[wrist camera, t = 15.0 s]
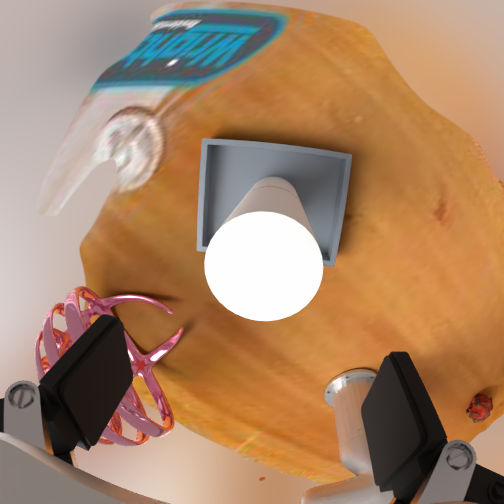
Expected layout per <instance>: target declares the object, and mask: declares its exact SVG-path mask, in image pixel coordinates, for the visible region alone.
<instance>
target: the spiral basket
mask: <svg viewBox="0 0 504 504" xmlns="http://www.w3.org/2000/svg"><path fill="white" fill-rule="evenodd" d="M79 296H80V297H82V298H83V299H84V300H86V301H87V302H88V304H89V306H88V308H87V309H85V310H84V311H80V305H79ZM127 302H145V303H150V304H153V305H156V306H158V307H160V308H162V309H163V310H165V311H166V312H168V313H170V314H173V311H172V309H170V308H169V307H168V306H167V305H165V304H163V303H162V302H160V301H158V300H155V299H153V298H150V297H147V296H142V295H135V294H125V295H117V296H113V297H108V298H101V297H99V296H98V295H97V294H95V293H94V292H93V291H92V290H91V289H89V288H87V287H84V286H80V287H77V288H74V289H73V290H71V291H70V292H69V293H68V294H67V296H66V298H65V303H57V304H55V305H53V306H52V307H51V308H50V310H49V311H48V312H47V314H46V316H45V319H44V323H43V329H42V330H41V331H40V333H39V334H38V336H37V339H36V343H35V363H36V368H37V372H38V379H39V381H40V380H41V379H42V378H43V376H44V375H45V371H46V370H49V369H51V367H52V366H53V365H54V364H55V363H56V362H57V361H58V360H59V359H60V358H61V357H62V355H63V354H64V353H65V352H66V351H67V350H68V349H69V348H70V347H71V346H72V345H73V344H74V343H75V342H76V341H77V339H78V338H79V337H80V336H81V335H82V334H83V333H84V332H85V331H86V330H87V329H88V328H89V327H90V326H91V322H90V321H91V319H92V318H93V317H94V316H101V315H102V314H108V315H112V316H114V314H113V313H112V311H111V308H112V307H113V306H115V305H118V304H122V303H127ZM53 314H59V315H62V316H64V317H65V319H66V324H67V327H68V329H67V330H66V331H65V332H62V331H60V330H58V329H56V328H53V324H52V323H53V322H52V321H53ZM183 330H184V328H183V327H181V328H180V329H179V330H178V331H177V332H176V333H175V334H174V335H173V336H172V337H170V338H169V339H168V340H167V341H165V342H164V343H163V344H162V345H160V346H159V347H157V348H156V349H155V350H153V351H152V352H150V353H148V354H146V355H143V354H142V353H140V351H139V350H138V349H137V347H136V346H135V344H134V343H133V341H132V340H131V338H130V337H129V335H128V334H127V332H126V331H125V329H124V333H125V338H126V343H127V348H128V353H129V357H130V359H131V367H132V371H133V378H134V377H135V376H141V377H142V378H143V380H144V381H145V383H146V385H147V387H148V388H149V390H150V392H151V394H152V396H153V398H154V400H155V402H156V405H157V407H158V409H159V412H160V415H161V418H162V422H163V426H161V425H159V424H157V423H155V422H154V421H152V420H151V419H150V418H148V417H147V416H146V412H145V410H144V408H143V405H142V403H141V401H140V399H139V396H138V395H137V393H136V391H135V389H134V387H133V385H132V384H131V385H130V387H129V389H128V390H127V392H126V394H125V395H124V397H123V399H122V400H121V402H120V404H119V405H118V407H117V409H116V411H115V412H114V414H113V416H112V417H111V419H110V421H109V426H108V425H107V426H106V428H105V430H104V431H103V433H102V436H103V437H104V438H99V440H98V442H97V443H100V444H104V445H113V444H118V445H121V446H126V447H135V446H140V445H143V444H145V443H146V442H147V441H148V439H149V437H150V436H151V437H163V436H165V435H166V434H168V433H169V432H170V431H171V430H172V429H173V427H174V416H173V413H172V410H171V407H170V405H169V403H168V400H167V398H166V396H165V394H164V392H163V391H162V389H161V387H160V385H159V383H158V381H157V380H156V378H155V376H154V374H153V372H152V366H153V365H154V364H155V363H156V362H157V361H158V360H160V359H161V358H162V357H163V356H164V355H166V354H167V353H168V352H169V351H170V350H171V349H172V348H173V347H174V345H175V344H176V343H177V342H178V340H179V339H180V337H181V335H182V333H183ZM42 342H44V347H45V351H46V355H47V356H43V357H42V358H41V355H40V346H41V344H42ZM56 343H57V344H58V349H57V346H56ZM39 384H40V382H39ZM120 416H121V417H122V418H124V420H126V421H127V422H128V423H129V424H130V425H132V426H133V427H135V428H136V429H137V436H136V439H135V440H134V441H133V440H130V439H127V438H125V437H123V436H122V423H121V418H120Z"/></svg>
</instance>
